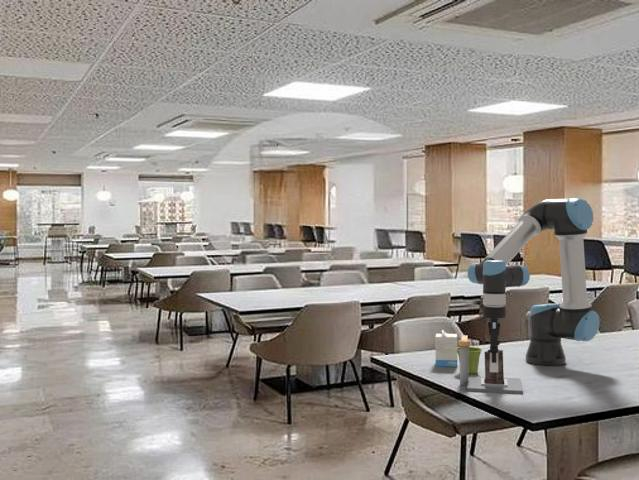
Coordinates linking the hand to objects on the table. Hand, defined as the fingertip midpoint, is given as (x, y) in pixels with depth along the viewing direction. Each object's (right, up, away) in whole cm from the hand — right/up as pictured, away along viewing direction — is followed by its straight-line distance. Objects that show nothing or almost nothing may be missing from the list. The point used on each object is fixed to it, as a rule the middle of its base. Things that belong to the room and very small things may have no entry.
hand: (493, 368), depth 233 cm
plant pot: (-4, -6, +22) cm, 23 cm away
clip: (-9, +7, +7) cm, 13 cm away
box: (0, -6, 0) cm, 6 cm away
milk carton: (-10, -6, +36) cm, 37 cm away
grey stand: (-1, -6, +1) cm, 6 cm away
